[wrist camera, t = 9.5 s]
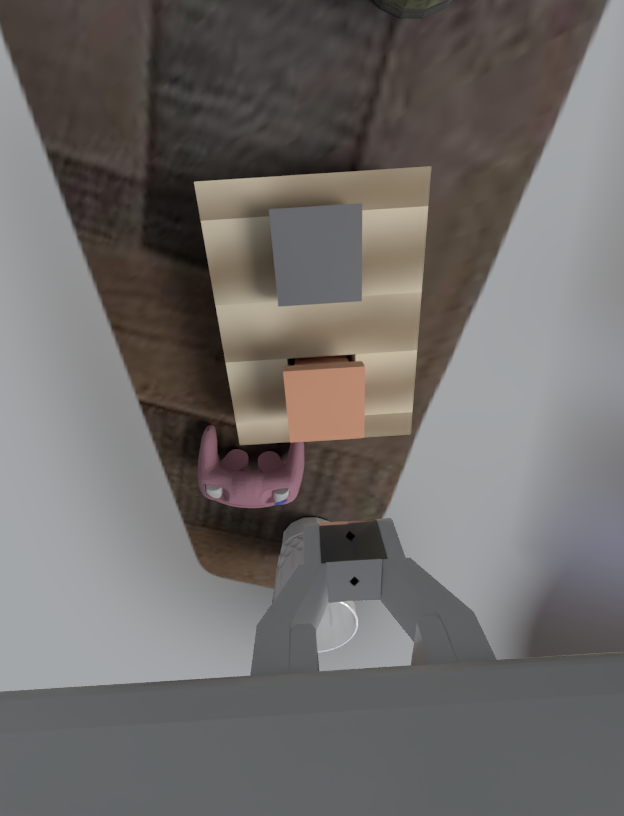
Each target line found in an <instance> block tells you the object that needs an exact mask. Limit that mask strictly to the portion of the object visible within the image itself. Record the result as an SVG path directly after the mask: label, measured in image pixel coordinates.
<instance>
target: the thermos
mask: <svg viewBox="0 0 624 816" xmlns="http://www.w3.org/2000/svg"><path fill="white" fill-rule="evenodd" d="M373 1H374V2H375V3H376V4H377V6H378V7H379V8H380V9H382V10H384V11H386V12H389V13H391V14H393V15H395V16H397V17H399V18H424V17H426V16H428V15H431V14H433V13H435V12H437V11H440V10H442V9H444V8H445V7H446V6H447V5H448V4H449V3H450V2H451V1H453V0H373Z"/></svg>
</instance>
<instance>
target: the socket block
mask: <svg viewBox="0 0 624 816" xmlns="http://www.w3.org/2000/svg"><path fill="white" fill-rule="evenodd" d="M430 177H431V166H429V167H414V168H398V169H383V170H367V171H352V172H336V173H320V174H305V175H289V176H274V177H258V178H243V179H227V180H212V181H196V182H194V186H195V192H196V197H197V203H198V209H199V214H200V220H201V226H202V231H203V237H204V243H205V249H206V254H207V260H208V266H209V271H210V277H211V283H212V289H213V294H214V300H215V306H216V311H217V317H218V323H219V329H220V334H221V340H222V346H223V351H224V357H225V363H226V369H227V374H228V380H229V386H230V391H231V397H232V403H233V409H234V414H235V420H236V426H237V431H238V437H239V443H240V445H252V444H268V443H283V442H290V437H289V427H288V417H287V407H286V397H285V387H284V377H283V369H284V366H292V365H291V358H304V357H320V356H335V355H347V359H348V361H349V362H355V361H362V362H363V364H364V365H365V420H364V437H376V436H392V435H408V434H411V423H412V410H413V397H414V384H415V371H416V358H417V345H418V332H419V319H420V306H421V294H422V281H423V268H424V255H425V242H426V229H427V216H428V203H429V190H430ZM358 203H362V301H358V302H342V303H327V304H311V305H295V306H280V307H278V298H277V288H276V278H275V267H274V257H273V247H272V237H271V227H270V216H269V209H280V208H296V207H311V206H327V205H342V204H358Z"/></svg>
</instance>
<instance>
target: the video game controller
mask: <svg viewBox="0 0 624 816" xmlns="http://www.w3.org/2000/svg"><path fill="white" fill-rule="evenodd" d="M247 467H248V455H247V453H246V452H245V451H243V450H240V449H234V450H231V451H230V452H229V453H228V454H227V455H226V456H225V457H224V458H223V459H222V460H221V461H220V460H219V456H218V453H217V435H216V430H215V427H214V426H213V425H209V426H207V427H206V429H205V431H204V433H203V435H202V439H201V445H200V452H199V459H198V486H199V488H200V490H201V493H202V494H203V495H204V496H205V497H206V498H208V499H210V500H216V501H218V502H220V503H223V504H226V505H229V506H234V507H241V508H261V507H269V506H273V505H282V504H287V503H290V502H291V501H293V500H294V499H295V498H296V496H297V494H298V492H299V489H300V485H301V481H302V477H303V471H304V442H293V443H290V447H289V452H288V457H287V460H286V463H285V464H283V463H282V461H281V459H280V457H279V455H278V454H277V453H276V452H273V451H267V452H264V453H262V454H261V455H260V456H259V457H258V470H259V472H247V471H246V469H247Z"/></svg>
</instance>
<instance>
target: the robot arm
mask: <svg viewBox="0 0 624 816" xmlns="http://www.w3.org/2000/svg"><path fill="white" fill-rule="evenodd" d="M319 534H320V536H319ZM303 559H304V565H299V566H298V567H297V569H296V570H295V572H294V573H293V574H292V576H291V577H290V579H289V580H288V582H287V583H286V584H285V586H284V587H283V589H282V590H281V592H280V593H279V594H278V596H277V597H276V599H275V600H274V602H273V603H272V605H271V606H270V607H269V609H268V610H267V612H266V613H265V615H264V616H263V618H262V619H261V620H260V622H259V623H258V625H257V629H256V637H255V644H254V653H253V660H252V668H251V676H241V677H226V678H225V677H224V678H209V679H194V680H177V681H162V682H146V683H131V684H114V685H98V686H83V687H67V688H52V689H35V690H20V691H4V692H0V816H624V652H612V653H597V654H581V655H566V656H550V657H534V658H519V659H503V660H497V659H496V658H495V655H494V653H493V651H492V649H491V647H490V645H489V643H488V641H487V639H486V636H485V635H484V632H483V630H482V628H481V626H480V624H479V622H478V620H477V618H476V616H475V614H474V612H473V611H472V610H471V609H470V608H468V607H467V606H466V605H465V604H464V603H462V602H461V601H460V600H459V599H458V598H457V597H455V596H454V595H453V594H452V593H451V592H450V591H448V590H447V589H446V588H445V587H444V586H442V585H441V584H440V583H439V582H438V581H437V580H435V579H434V578H433V577H432V576H431V575H429V574H428V573H427V572H426V571H425V570H424V569H423V568H421V567H420V566H419V565H418V564H417V563H416V562H414V561H413V560H412V559H411V558H405V555H404V552H403V550H402V546H401V544H400V541H399V538H398V535H397V532H396V529H395V526H394V523H393V520H392V519H391V518H387V519H376V520H375V519H372V520H359V521H347V522H325V523H307V524H304V527H303ZM354 600H381V601H382V603H383V604H384V605H385V606H386V608H387V609H388V610H389V611H390V613H391V614H392V615H393V617H394V618H395V619H396V620H397V621H398V623H399V624H400V625H401V626H402V628H403V629H404V630H405V631H406V633H407V634H408V635H409V636H410V637H411V639H412V640H413V641H414V648H413V654H412V661H411V665H410V666H397V667H396V666H395V667H379V668H364V669H350V670H335V671H334V670H333V671H319V663H318V650H317V638H316V630H317V628H318V626H319V624H320V622H321V620H322V618H323V615H324V613H325V611H326V609H327V607H328V603H333V602H343V601H354Z"/></svg>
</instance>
